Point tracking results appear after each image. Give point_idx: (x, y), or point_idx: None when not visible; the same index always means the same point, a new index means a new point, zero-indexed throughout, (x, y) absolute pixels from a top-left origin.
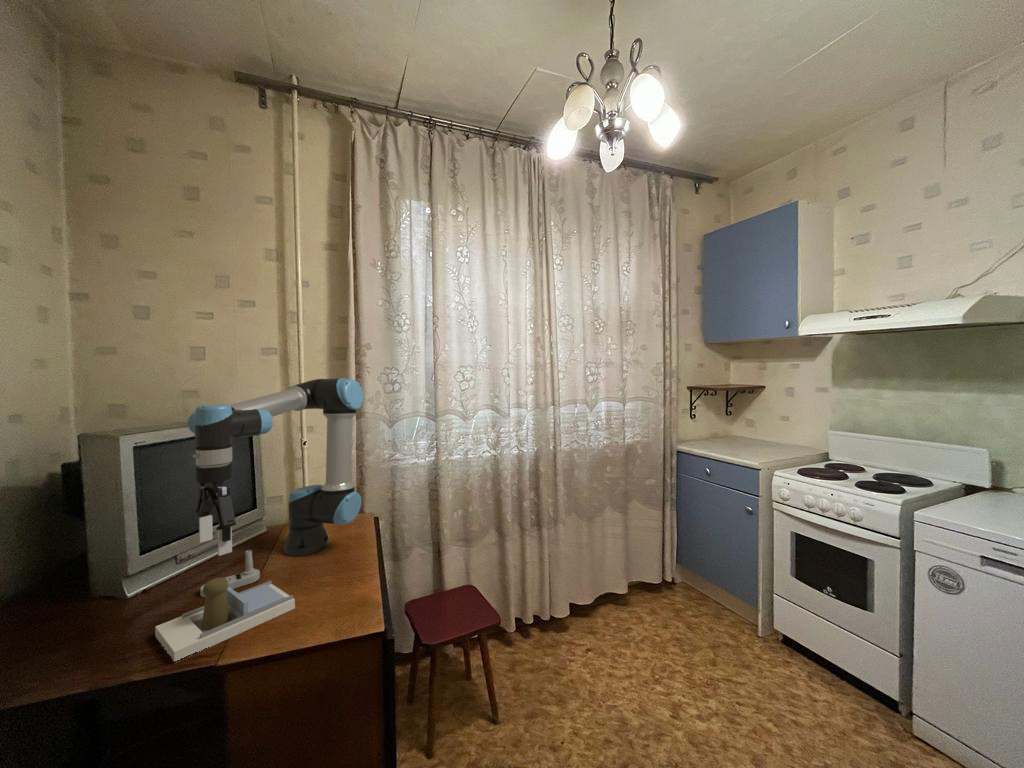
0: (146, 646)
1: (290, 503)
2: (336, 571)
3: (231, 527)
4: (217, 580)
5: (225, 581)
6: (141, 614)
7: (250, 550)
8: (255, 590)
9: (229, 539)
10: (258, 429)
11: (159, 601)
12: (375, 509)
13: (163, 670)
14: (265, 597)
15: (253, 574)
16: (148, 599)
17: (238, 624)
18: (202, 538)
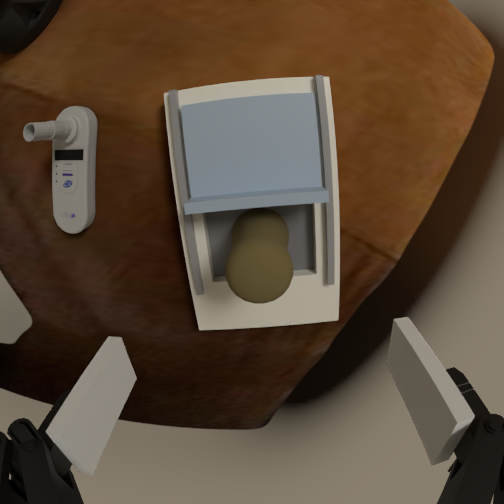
0: (230, 332)
1: None
2: None
3: (470, 409)
4: (264, 275)
5: (277, 253)
6: (95, 318)
7: (27, 126)
8: (200, 136)
9: (456, 374)
10: None
11: (62, 289)
12: None
13: (339, 322)
14: (269, 128)
15: (82, 121)
16: (46, 299)
17: (338, 212)
18: (128, 384)
